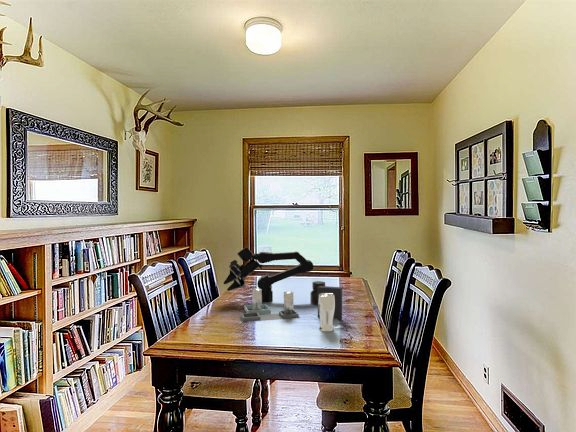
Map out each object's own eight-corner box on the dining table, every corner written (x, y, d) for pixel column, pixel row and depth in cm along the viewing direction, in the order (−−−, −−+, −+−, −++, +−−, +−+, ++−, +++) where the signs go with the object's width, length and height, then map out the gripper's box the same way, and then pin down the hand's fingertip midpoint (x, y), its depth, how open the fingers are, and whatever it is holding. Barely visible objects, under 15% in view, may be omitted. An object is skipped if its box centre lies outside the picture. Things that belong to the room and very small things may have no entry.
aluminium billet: (260, 310, 204) (260, 288, 204) (262, 312, 199) (262, 289, 199) (251, 310, 203) (251, 288, 202) (253, 312, 198) (253, 290, 198)
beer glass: (317, 327, 177) (317, 292, 177) (333, 327, 178) (333, 292, 178) (319, 332, 170) (319, 296, 170) (336, 331, 171) (336, 296, 171)
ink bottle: (331, 304, 218) (331, 282, 218) (320, 307, 212) (320, 284, 212) (316, 301, 225) (316, 280, 225) (306, 304, 219) (306, 282, 218)
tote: (266, 309, 208) (266, 304, 208) (270, 315, 197) (270, 309, 197) (244, 311, 205) (244, 305, 205) (247, 316, 194) (247, 311, 194)
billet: (292, 314, 195) (292, 291, 195) (294, 316, 191) (294, 293, 191) (282, 314, 194) (282, 291, 194) (285, 317, 190) (285, 293, 190)
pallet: (295, 314, 199) (295, 309, 199) (300, 320, 189) (300, 314, 189) (239, 318, 192) (239, 312, 192) (242, 324, 182) (242, 318, 182)
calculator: (342, 319, 191) (342, 286, 190) (340, 321, 187) (340, 288, 186) (319, 317, 194) (319, 285, 194) (317, 319, 190) (317, 287, 190)
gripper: (242, 265, 234) (220, 283, 229) (236, 251, 218) (212, 269, 213) (254, 279, 229) (232, 297, 224) (249, 265, 213) (225, 284, 208)
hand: (225, 287), depth 217 cm, fingers open, 9 cm apart
